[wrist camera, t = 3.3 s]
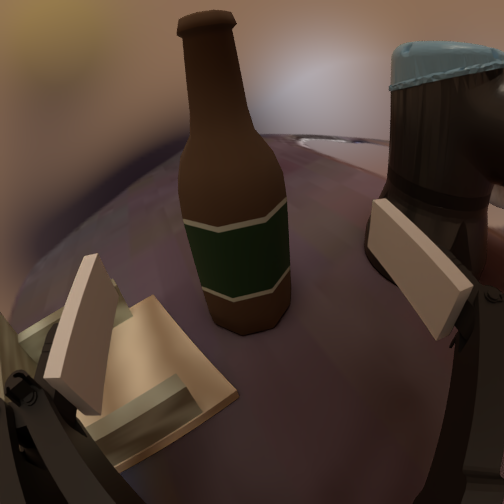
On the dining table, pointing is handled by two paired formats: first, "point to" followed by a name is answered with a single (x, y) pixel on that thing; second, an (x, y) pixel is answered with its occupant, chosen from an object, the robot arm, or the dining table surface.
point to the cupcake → (497, 196)
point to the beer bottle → (230, 186)
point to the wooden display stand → (134, 380)
